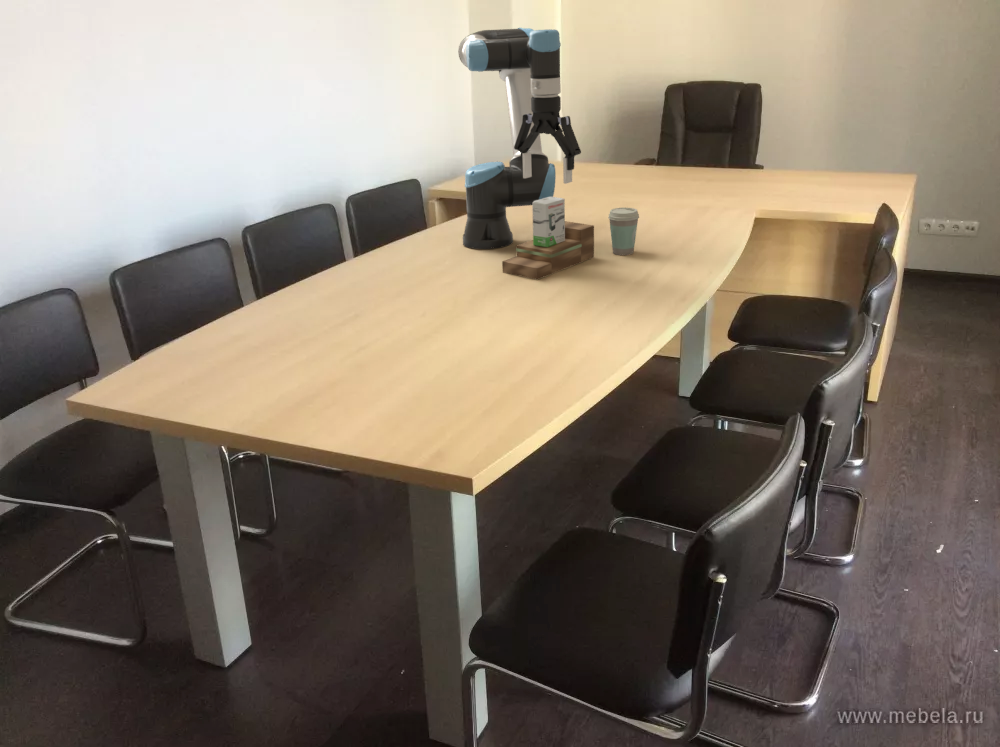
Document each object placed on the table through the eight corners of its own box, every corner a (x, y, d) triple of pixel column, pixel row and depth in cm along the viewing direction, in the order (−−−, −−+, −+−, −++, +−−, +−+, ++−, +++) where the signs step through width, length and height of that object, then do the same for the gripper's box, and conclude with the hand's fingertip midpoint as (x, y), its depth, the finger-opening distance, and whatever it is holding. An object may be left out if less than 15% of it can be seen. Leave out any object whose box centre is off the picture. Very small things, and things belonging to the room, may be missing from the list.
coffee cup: (637, 256, 233) (638, 213, 229) (606, 256, 235) (607, 213, 230) (639, 248, 241) (640, 207, 236) (609, 248, 243) (609, 207, 238)
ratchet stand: (502, 272, 226) (500, 239, 222) (559, 251, 242) (559, 220, 239) (537, 279, 218) (536, 245, 214) (594, 257, 235) (594, 225, 231)
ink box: (547, 248, 223) (546, 203, 218) (532, 245, 226) (530, 201, 221) (566, 240, 229) (565, 197, 224) (551, 238, 232) (550, 195, 227)
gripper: (499, 95, 218) (502, 177, 227) (576, 99, 202) (576, 187, 211) (517, 92, 223) (520, 173, 232) (594, 95, 207) (594, 182, 216)
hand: (547, 180), depth 221 cm, fingers open, 13 cm apart
